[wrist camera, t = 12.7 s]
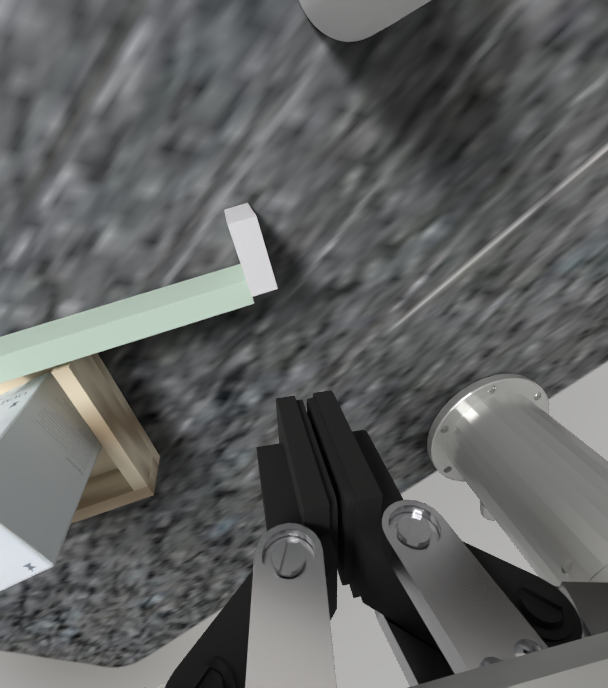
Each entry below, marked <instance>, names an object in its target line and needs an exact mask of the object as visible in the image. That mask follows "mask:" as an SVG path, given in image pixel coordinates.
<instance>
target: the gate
mask: <svg viewBox="0 0 608 688" xmlns="http://www.w3.org/2000/svg"><path fill="white" fill-rule="evenodd" d="M224 211H225V216H226V220H227V224H228V227H229V230H230V233H231V236H232V239H233V242H234V245H235V248H236V251H237V254H238V257H239V260H240V263H241V264H238V265H235V266H232V267H228V268H225V269H222V270H219V271H215V272H212V273H209V274H205V275H202V276H199V277H196V278H192V279H189V280H186V281H182V282H179V283H176V284H173V285H169V286H166V287H163V288H159V289H156V290H153V291H150V292H146V293H143V294H140V295H136V296H133V297H130V298H127V299H123V300H120V301H117V302H113V303H110V304H107V305H104V306H100V307H97V308H94V309H90V310H87V311H84V312H81V313H77V314H74V315H71V316H67V317H64V318H61V319H58V320H54V321H51V322H48V323H44V324H41V325H38V326H35V327H31V328H28V329H25V330H21V331H18V332H15V333H12V334H8V335H5V336H2V337H0V383H3V382H6V381H9V380H12V379H15V378H18V377H22V376H25V375H28V374H31V373H34V372H38V371H41V370H44V369H47V368H50V367H54V366H57V365H60V364H63V363H66V362H70V361H73V360H76V359H79V358H82V357H85V356H89V355H92V354H95V353H98V352H101V351H105V350H108V349H111V348H114V347H117V346H121V345H124V344H127V343H130V342H133V341H136V340H140V339H143V338H146V337H149V336H152V335H156V334H159V333H162V332H165V331H168V330H172V329H175V328H178V327H181V326H184V325H188V324H191V323H194V322H197V321H200V320H203V319H207V318H210V317H213V316H216V315H219V314H223V313H226V312H229V311H232V310H235V309H239V308H242V307H245V306H248V305H251V304H254V300H253V296H257V295H260V294H263V293H266V292H269V291H273V290H276V289H278V288H277V284H276V281H275V277H274V274H273V271H272V267H271V264H270V260H269V257H268V254H267V250H266V247H265V243H264V240H263V237H262V233H261V230H260V226H259V223H258V220H257V216H256V215H255V213H254V212H253V210H252V209H251V207H250V206H249V204H248V203H246V204H242V205H239V206H235V207H232V208H228V209H225V210H224Z"/></svg>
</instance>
